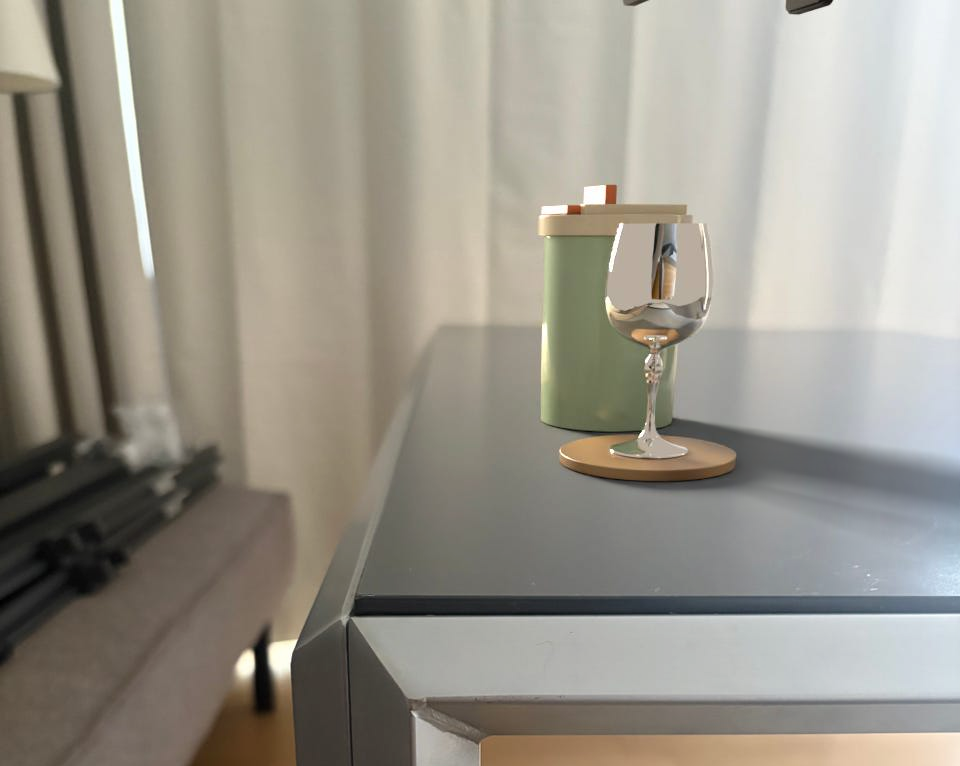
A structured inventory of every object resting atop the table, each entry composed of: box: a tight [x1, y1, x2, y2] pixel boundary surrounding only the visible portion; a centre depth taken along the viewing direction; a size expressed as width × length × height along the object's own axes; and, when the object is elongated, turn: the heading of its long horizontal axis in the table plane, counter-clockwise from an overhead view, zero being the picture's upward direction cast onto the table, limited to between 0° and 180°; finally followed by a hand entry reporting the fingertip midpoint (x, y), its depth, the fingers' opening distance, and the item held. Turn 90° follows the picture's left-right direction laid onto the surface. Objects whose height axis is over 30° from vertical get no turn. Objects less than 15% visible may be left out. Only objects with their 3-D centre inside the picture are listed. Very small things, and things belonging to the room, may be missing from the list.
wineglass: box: [605, 222, 714, 459], centre depth 55 cm, size 6×6×12 cm
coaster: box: [558, 434, 737, 482], centre depth 57 cm, size 10×10×1 cm
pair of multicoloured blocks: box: [541, 184, 618, 215], centre depth 64 cm, size 4×4×2 cm
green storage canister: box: [537, 203, 694, 433], centre depth 67 cm, size 10×10×14 cm
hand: (728, 5), depth 50 cm, fingers open, 9 cm apart
